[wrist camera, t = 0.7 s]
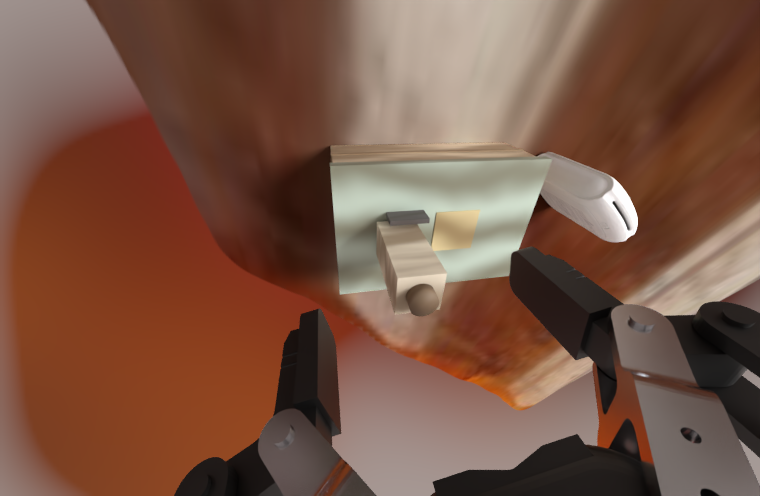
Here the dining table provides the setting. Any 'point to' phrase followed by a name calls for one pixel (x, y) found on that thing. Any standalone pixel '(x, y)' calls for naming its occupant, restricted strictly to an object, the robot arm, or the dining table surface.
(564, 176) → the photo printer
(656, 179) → the dining table surface
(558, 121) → the dining table surface
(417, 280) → the wooden knobbed block
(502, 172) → the rectangular block
